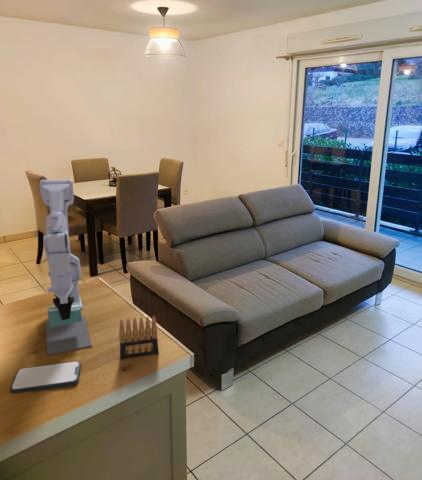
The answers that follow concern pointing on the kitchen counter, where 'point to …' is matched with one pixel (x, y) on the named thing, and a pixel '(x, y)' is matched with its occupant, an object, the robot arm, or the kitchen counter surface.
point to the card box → (57, 320)
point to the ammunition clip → (138, 339)
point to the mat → (67, 337)
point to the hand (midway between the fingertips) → (65, 314)
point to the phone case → (46, 377)
